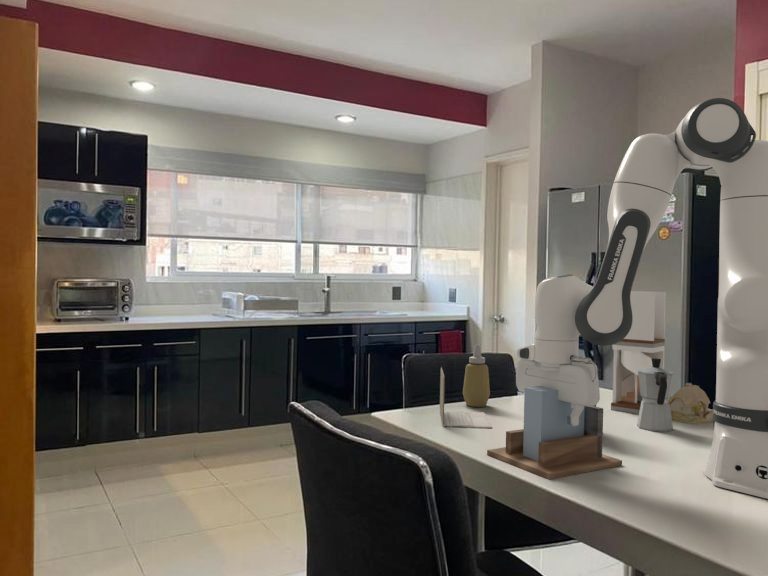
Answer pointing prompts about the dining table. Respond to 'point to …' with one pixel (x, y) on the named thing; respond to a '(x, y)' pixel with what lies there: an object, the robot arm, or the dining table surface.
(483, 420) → the laptop
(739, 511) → the dining table surface
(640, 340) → the white coffee grinder
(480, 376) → the squeeze bottle
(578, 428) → the book
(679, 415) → the ceramic model
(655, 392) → the coffee maker
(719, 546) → the dining table surface
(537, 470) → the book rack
